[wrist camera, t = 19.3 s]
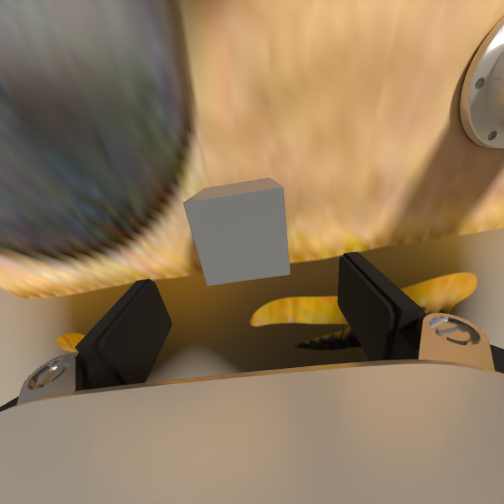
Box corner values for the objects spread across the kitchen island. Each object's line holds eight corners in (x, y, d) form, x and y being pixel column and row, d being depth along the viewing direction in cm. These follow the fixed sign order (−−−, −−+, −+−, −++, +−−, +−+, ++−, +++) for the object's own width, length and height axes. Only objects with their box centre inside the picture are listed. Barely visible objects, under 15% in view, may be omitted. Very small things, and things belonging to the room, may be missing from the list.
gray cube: (270, 177, 23) (283, 187, 15) (276, 239, 26) (290, 274, 18) (204, 188, 23) (183, 202, 15) (218, 248, 26) (207, 286, 18)
